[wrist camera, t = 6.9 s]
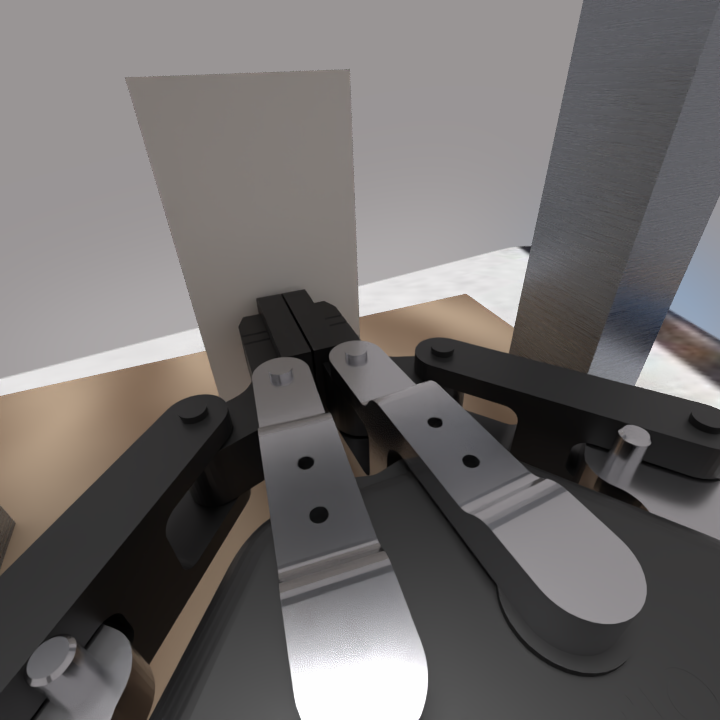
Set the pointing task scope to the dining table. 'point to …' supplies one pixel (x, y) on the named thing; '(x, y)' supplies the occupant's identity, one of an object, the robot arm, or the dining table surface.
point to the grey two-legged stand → (618, 188)
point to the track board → (145, 405)
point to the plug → (253, 195)
